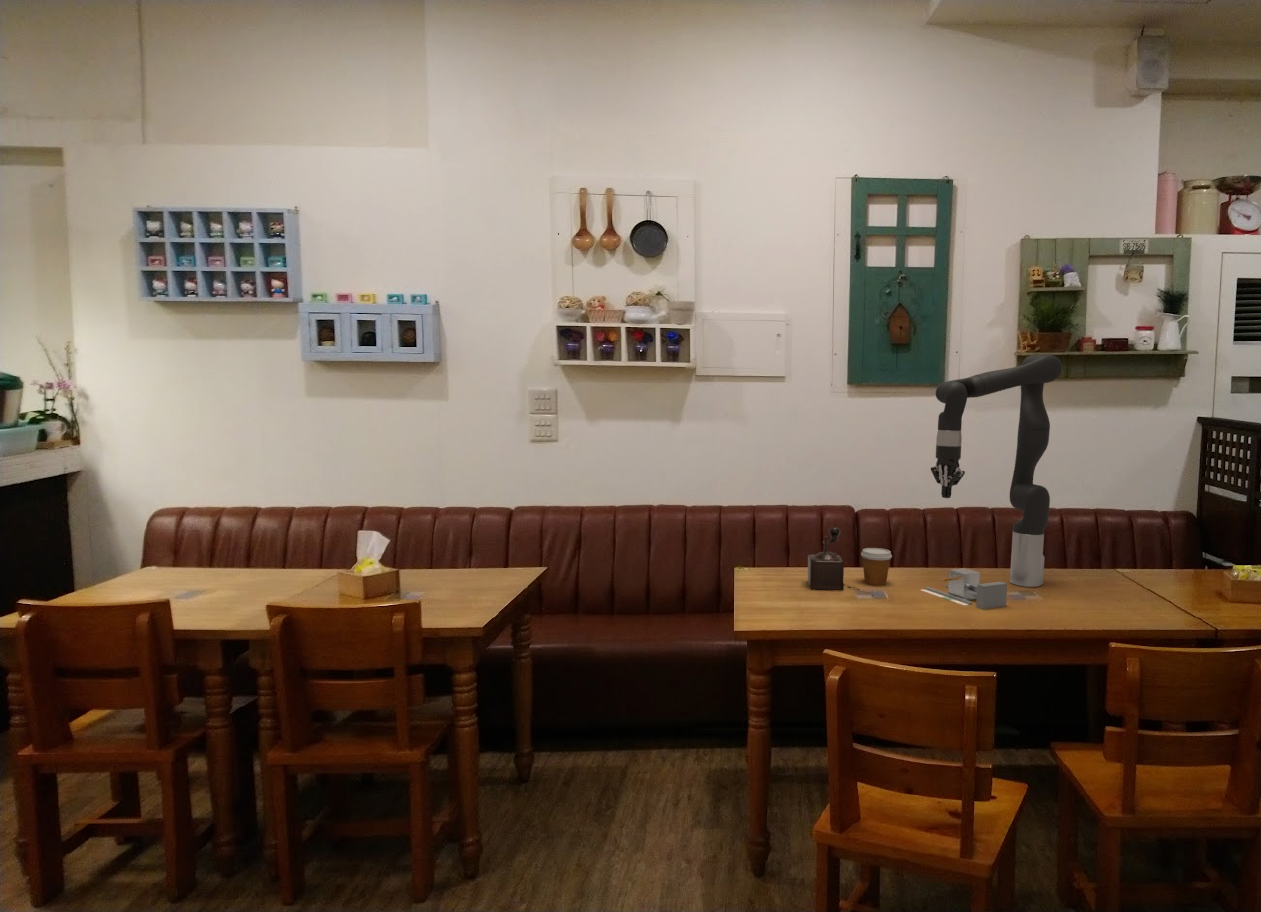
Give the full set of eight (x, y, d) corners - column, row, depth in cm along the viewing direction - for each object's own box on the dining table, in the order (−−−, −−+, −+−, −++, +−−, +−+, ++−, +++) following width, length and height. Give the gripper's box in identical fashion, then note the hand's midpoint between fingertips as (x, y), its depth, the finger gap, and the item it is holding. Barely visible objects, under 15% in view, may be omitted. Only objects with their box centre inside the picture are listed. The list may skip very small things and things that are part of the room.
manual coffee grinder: (845, 591, 253) (848, 535, 252) (810, 590, 255) (812, 534, 253) (838, 579, 269) (840, 526, 267) (804, 577, 270) (806, 525, 268)
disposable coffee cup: (892, 592, 253) (893, 554, 252) (861, 590, 255) (862, 553, 253) (888, 584, 262) (890, 548, 261) (858, 582, 264) (860, 546, 263)
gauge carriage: (963, 593, 246) (964, 568, 245) (991, 603, 236) (993, 576, 235) (935, 597, 242) (936, 571, 241) (963, 606, 232) (964, 579, 231)
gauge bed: (950, 589, 256) (952, 564, 255) (1012, 610, 234) (1014, 582, 233) (916, 593, 251) (917, 568, 250) (976, 615, 229) (977, 587, 228)
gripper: (973, 445, 252) (970, 500, 254) (942, 442, 264) (939, 494, 266) (955, 446, 249) (952, 501, 251) (924, 442, 261) (922, 495, 263)
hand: (946, 497), depth 258 cm, fingers closed
